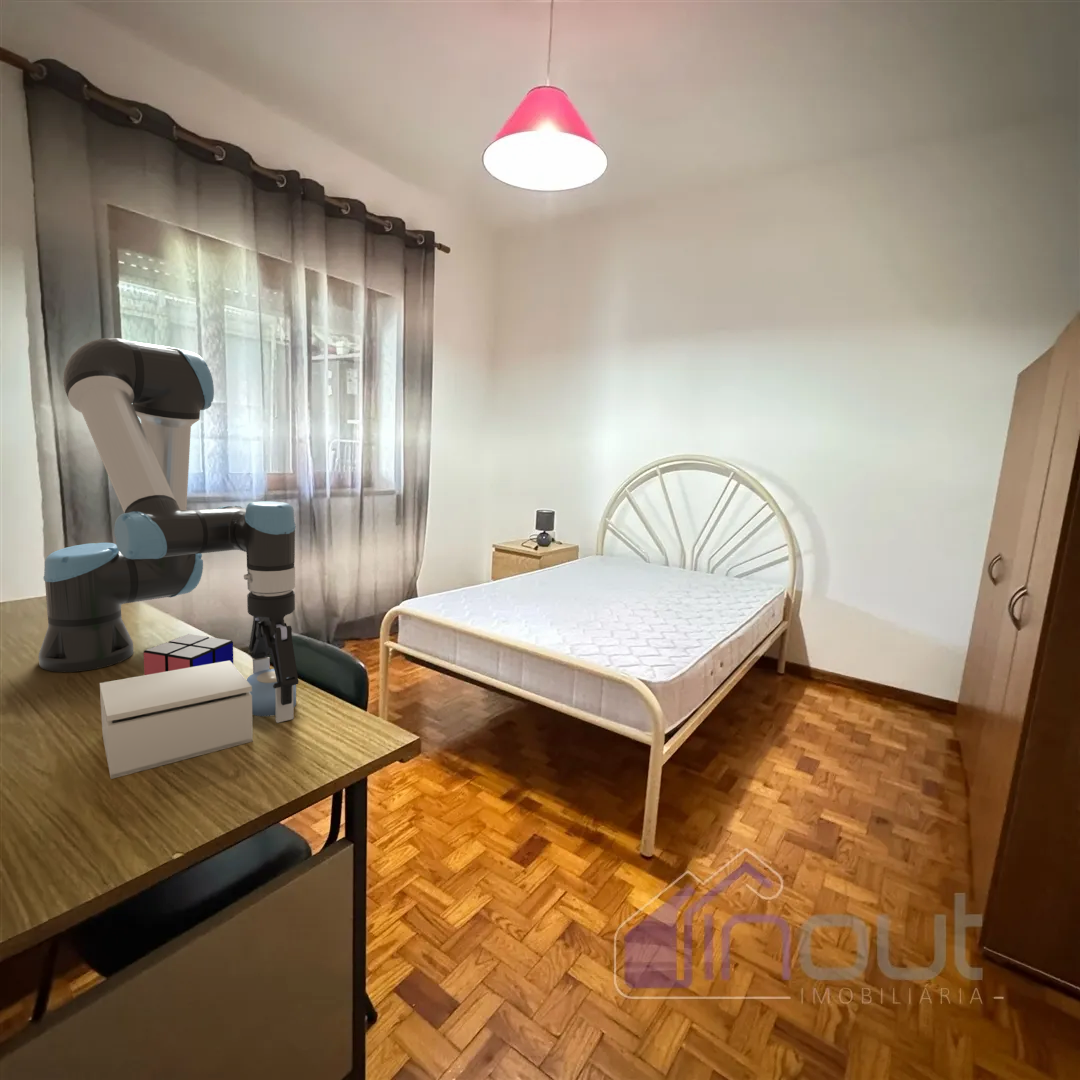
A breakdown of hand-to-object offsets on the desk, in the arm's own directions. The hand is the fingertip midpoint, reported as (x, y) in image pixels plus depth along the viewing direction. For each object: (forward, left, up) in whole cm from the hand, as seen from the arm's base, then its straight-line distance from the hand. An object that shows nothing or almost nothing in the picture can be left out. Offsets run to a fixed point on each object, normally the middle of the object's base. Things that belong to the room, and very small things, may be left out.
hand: (272, 705), depth 101 cm
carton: (+4, -15, 0) cm, 15 cm away
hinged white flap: (+4, -15, +8) cm, 17 cm away
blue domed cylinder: (0, 0, 0) cm, 0 cm away
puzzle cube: (-11, -11, -1) cm, 16 cm away
